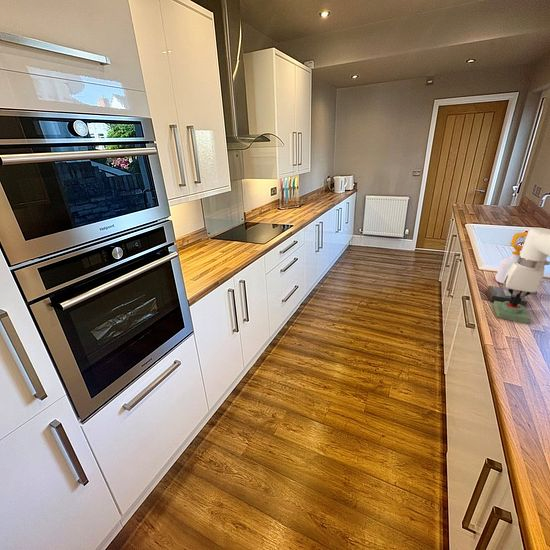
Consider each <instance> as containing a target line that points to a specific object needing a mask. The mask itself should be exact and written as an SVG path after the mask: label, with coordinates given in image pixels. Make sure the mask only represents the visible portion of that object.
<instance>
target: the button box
mask: <svg viewBox="0 0 550 550" xmlns="http://www.w3.org/2000/svg"><path fill="white" fill-rule="evenodd" d="M508 303H509V301H505V302H498V301H494V302H493V304H492V307H493V310H494V312H495V315H496V318H498V319H503V320H507V321H508V320H509V321H514V322H519V323H525V324H530V322H531V320H532V317H531V316H530V314H529V312H528V310H527V309H526V306H525V307H524V306H522V305H520V304H518V305H519V308H512V307H510V306H508Z"/></svg>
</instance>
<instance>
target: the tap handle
mask: <svg viewBox="0 0 550 550" xmlns="http://www.w3.org/2000/svg"><path fill="white" fill-rule="evenodd" d="M503 291H504V293H505V295H506V296H511V294H510V292H509V291H506V290H503Z"/></svg>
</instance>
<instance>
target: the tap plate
mask: <svg viewBox="0 0 550 550" xmlns="http://www.w3.org/2000/svg"><path fill="white" fill-rule="evenodd" d="M518 293H519V290H517V294H518ZM486 294H487V296H488V299H489V302H491V303H494V301H498V302H505V301H509V299H510V297H511V296H506V295H505V293H504V291H503V289H502V286H494V285H488V286H487V289H486ZM520 305H522V306H524V307H525V308H526V306H527V305H528V299H527V298H526V296H525V297H524V298H522V299H521V301H520Z"/></svg>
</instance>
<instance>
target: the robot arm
mask: <svg viewBox="0 0 550 550" xmlns="http://www.w3.org/2000/svg"><path fill="white" fill-rule="evenodd" d="M522 246H523V247H522V250H521V251H520V252H519V253H520V255H519V258H518V260H517V262H514V263H513V264H512V265H511V267H510V269H509V271H508V273H507V274H506V277H505V279H504V284H502V286H501V288H502V289H503V290H506V291H509V292H510V294H511V297H510V299H509V303H510V304H511V306H515V307H517V305H518V304H520V301H521V299H522V298H524V297H525V298H526V297H527V296H529V295H530V296H537V295H538V292H539V291H540V289H541V286H542V283H543V280H544V274H545V269H546V268H545V266H549V265H550V261H549V260H547V259H548V257H550V228H544V227H532V228H530V229H529V230H528V234H527V236H525V240H524V242H523V244H522ZM517 290H519V293H518V294H517Z"/></svg>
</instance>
